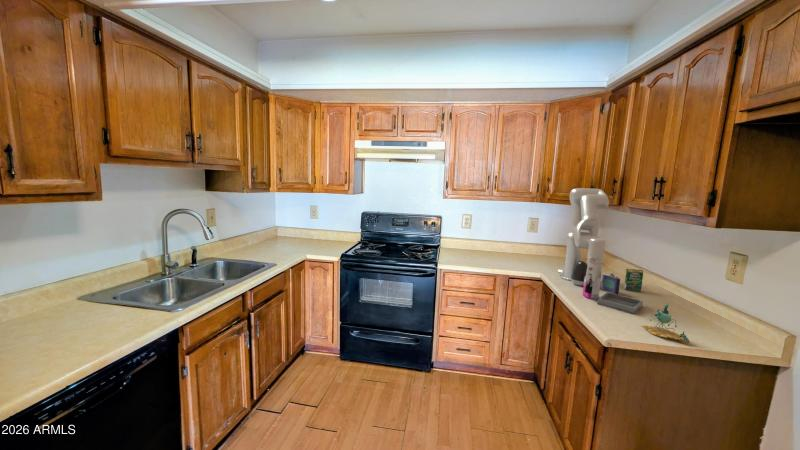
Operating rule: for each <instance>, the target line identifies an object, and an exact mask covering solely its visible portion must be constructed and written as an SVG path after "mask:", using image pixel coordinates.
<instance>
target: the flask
mask: <svg viewBox="0 0 800 450" xmlns="http://www.w3.org/2000/svg"><path fill="white" fill-rule="evenodd" d="M620 284H621V278H620V277H618V276H616V275H615V274H614V272H610V273H609V274H607V273H602V274H601V282H600V290H601V291H604V292H606V293H607V292H609V293H610V292H611V293H613V294H617V295H619V293H620Z"/></svg>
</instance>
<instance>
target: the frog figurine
mask: <svg viewBox="0 0 800 450" xmlns="http://www.w3.org/2000/svg"><path fill="white" fill-rule="evenodd" d="M668 308H669V303H666V304H665V305H664V308H663V310H661V309H657V311H656V314H654V317H656V318H654V317H653V315H652V314H649V316H650V317H651V318H652V319H651V318H649V321H650V322H652V321H653V322H654V320H655V322H657V324H656V325H655V326H652V325H650V326H649V325H645V324H644V325H642V328H643V329H644V330H645V331H647V332H650V334H652V335H653V336H658V337H659V338H660V337H661V338H667V339H668V338H669V339H671V340H676V341H677V342H678V343H682V344H684V345H687V346H692V344H691V341H690V340H689V338H688V337H687V335H686V334H685V331H682V333H680V334H679V333H677V332H676V330H675V329H674V328H677V327H678V326H677V325H674V328H673V327H670V325H671V324H673V323H674V321H675V324H677V321H676V319H673V318H672V315H671V314H670V312H669V310H668ZM669 323H670V324H669ZM665 324H667V326H668V327H666V325H665ZM670 329H672V330H670Z"/></svg>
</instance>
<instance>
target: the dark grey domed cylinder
mask: <svg viewBox="0 0 800 450" xmlns="http://www.w3.org/2000/svg"><path fill="white" fill-rule="evenodd" d="M587 266H588V263H587V261H584V260H582V261H580V260H579V262H578V263H577V264H576V265H575V267H574V269H573V272H572V275H571V278H572V281H571V282H572V283H573V284H574V285H576V286H579V287H583V286H584V277H585V276H586V272H587Z"/></svg>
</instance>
